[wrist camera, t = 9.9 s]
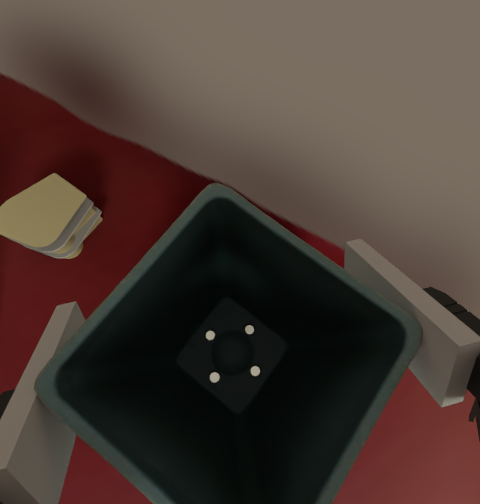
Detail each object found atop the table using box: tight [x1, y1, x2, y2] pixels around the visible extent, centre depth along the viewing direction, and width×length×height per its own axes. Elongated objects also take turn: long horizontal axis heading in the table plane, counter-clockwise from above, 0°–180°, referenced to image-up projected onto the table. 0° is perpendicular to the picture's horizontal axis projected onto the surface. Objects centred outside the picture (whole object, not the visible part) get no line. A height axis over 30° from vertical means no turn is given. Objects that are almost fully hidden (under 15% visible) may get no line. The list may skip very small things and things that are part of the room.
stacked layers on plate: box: [0, 173, 103, 259], centre depth 30 cm, size 10×9×6 cm
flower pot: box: [34, 183, 422, 504], centre depth 14 cm, size 9×9×9 cm
